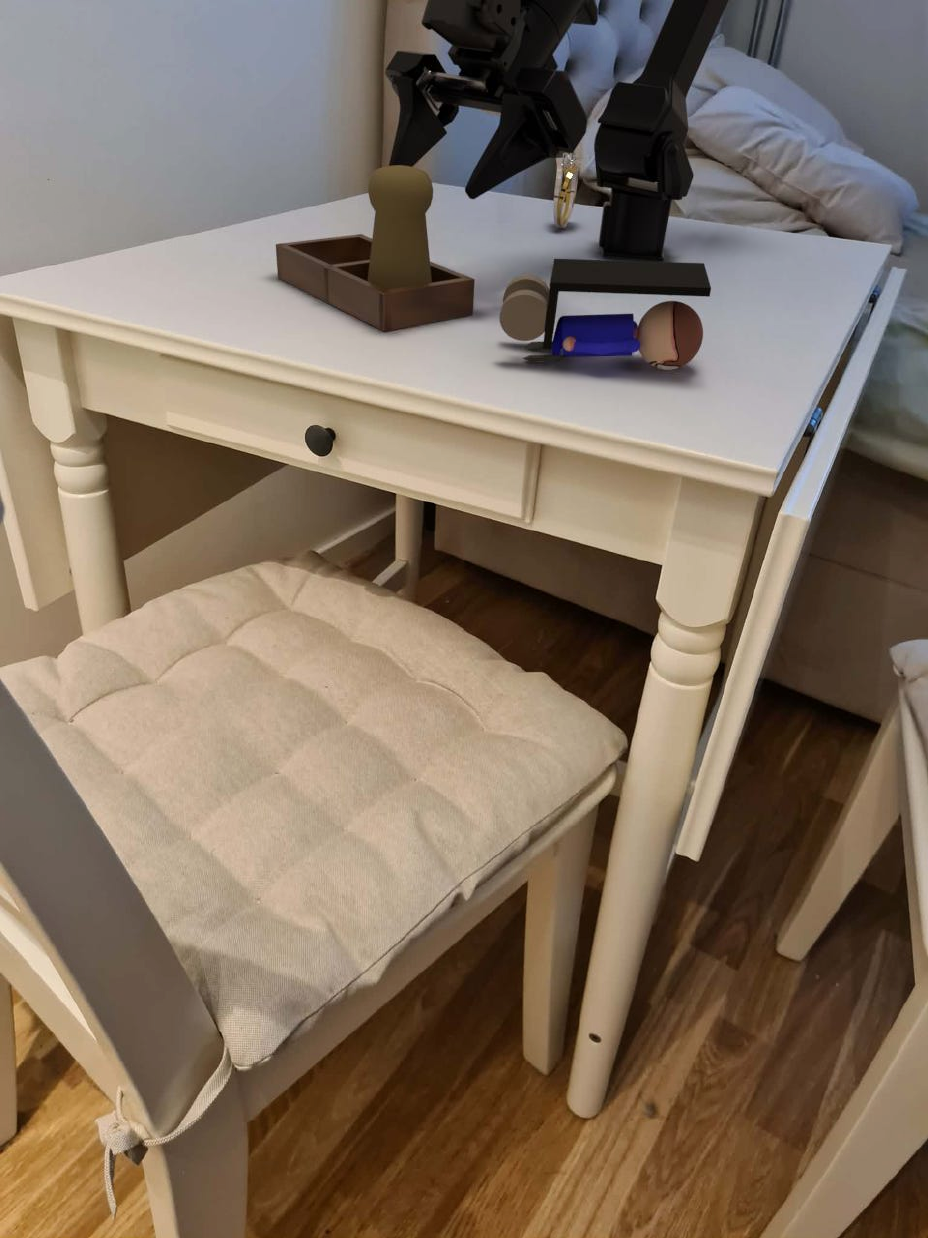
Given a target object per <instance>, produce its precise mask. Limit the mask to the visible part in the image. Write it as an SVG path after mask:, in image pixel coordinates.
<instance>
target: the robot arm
mask: <svg viewBox="0 0 928 1238" xmlns="http://www.w3.org/2000/svg"><path fill="white" fill-rule="evenodd" d="M729 1H730V0H673V1H672V3H671V6H670V7H669V10H668V12H667V14H666V17H665V19H664V22H663V23H662V26H661V28H660V31H659V33H658V35H657V38H656V40H655V42H654V45H653V48H652V49H651V52H650V54H649V56H648V59H647V61H646V63H645V66H644V68H643V70H642V71H641V74H640V76H638V77H637V78H636V79H635V80H634V81H632V82H626V81H625V82H624V81H618V82H616V83H615V85H614V86H613V87H612V89H611V91H610V94H609V97H608V101H607V103H606V106H605V108H604V110H603V111H602V114H601V115H600V116H599V118H598V119H597V124H599V126H598V128H597V131H596V134H595V137H594V141H593V142H594V143H593V153H594V165H595V177H596V186H597V187H598V188H605V189H606V188H607V189H610V197H609V201H605V202H604V203H603V207H602V216H601V223H600V229H599V236H598V246H599V248H600V249H601V248H602V249H601V250H602V257H607V258H615V259H627V260H638V261H650V262H665V261H664V260H665V253H664V248H665V247H664V246H665V240H666V236H667V235H666V234H667V228H668V224H669V217H670V213H671V206H672V201H681V200H683V198H685V197H687V196H688V194H689V191H690V188H691V185H692V183H693V180H694V176H695V175H694V171H693V169H692V165H691V163H690V160H689V157H688V154H687V152H686V151H687V150H686V149H685V146H684V144H685V141H686V137H687V135H688V132H689V119H688V108H687V107H688V106H687V97H688V94H689V91H690V90H691V87H692V85H693V82H694V80H695V78H696V76H697V73H698V71H699V68H700V67H701V64H702V62H703V60H704V57H705V55H706V53H707V51H708V48H709V46H710V44H711V41H712V40H713V38H714V35H715V33H716V30H717V28H718V25H719V23H720V21H721V19H722V17H723V14H724V12H725V10H726V7H727V5H728V3H729ZM598 21H599V7H598V5H597V1H596V0H427V2H426V5H425V7H424V12H423V15H422V19H421V22H420V23H421V25H422V27H424V28H425V29H427V30H428V31H431V30H432V31H433V32H434V33H436V34H437V35H438V36H439V37H441V38H442V39H443V40H445V41H446V42H447V43H448V44H450V45H451V46H450V48H449V49H448V51H447V55H448V57H449V59H450V60H451V62H452V64H453V65H454V66H458V68H459V72H458V75H457V74H452V73H447V72H446V70H445V68H444V67H443V65H442V63H441V62H440V59H439V58H438V57H437V55H436V54H435V53H428V52H421V51H413V50H397V51H395V53H394V55H393V56H392V58H391V60H390V62H389V63H388V64H387V66H386V68H385V72H384V75H385V76H386V78H387V79H388V81H389V82H390V83H391V88H392V90H393V91H394V93H395V95H396V96H397V97H398V101H399V115H398V121H397V128H396V132H395V137H394V141H393V144H392V149H391V154H390V157H389V162H388V166H394V165H403V166H410V167H414V166H415V165H417V164H418V162H419V161H420V160H421V159H422V158H424V157H425V155H426V154H428V153H429V152H430V150H432V149H433V147H435V146H436V145H437V144H438V143H439V142H440V141H441V140H442V139H443V138H444V137H445V136H446V135H447V134H448V132H447V130H446V128H445V127H447V126H448V125H449V124H452V123H453V122H454V120H455V119H456V117H457V116H458V114H459V112H460V107H465V108H469V109H475V110H482V112H483V113H485V114H487V115H492V116H493V115H494V116H499V123H498V126H497V128H496V129H495V131H494V133H493V135H492V137H491V138H490V140H489V142H488V144H487V145H486V148H485V149H484V151H483V152H482V154H481V156H480V158H479V159H478V162H477V163H476V165H475V167H473V170H472V172H471V174H470V177H469V179H468V180H467V183H466V185H465V187H464V192H465V194H466V196H467V197H468V198H469V199H470V200H476V199H477V198H479V197H481V196H482V195H485V194H486V193H487V192H489V191H491V190H492V189H495V188H496V187H497V186H499V185H500V184H502V183H504V182H506V181H508V180H509V179H511V178H513V177H514V176H516V175H518V174H520V173H522V172H523V171H525V170H527V169H529V168H531V167H533V166H536V165H537V164H539V163H541V162H543V161H546V160H547V159H556V158H558V156H559V155H560V154H561V152H563V153H564V152H567V153H568V154H570V153H573V154H574V152H575V151H576V150H577V148H578V146H579V144H580V143H581V142H582V139H583V138H584V136H585V135H586V133H587V125H588V117H587V114H586V112H585V109H584V108H583V105H582V103H581V101H580V98H579V96H578V93H577V92H576V89H575V88H574V85H573V83H572V81H571V79H570V76H569V74H568V72H567V70H560V69H558V68H559V65H558V63H557V61H556V59H555V57H554V54H555V52H556V51H557V49H558V47H559V46H560V44H561V42H563V40H564V38H565V37H566V35H567V33H568V31H569V30H570V28H571V27H572V25H582V26H595V25H597V23H598Z"/></svg>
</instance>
